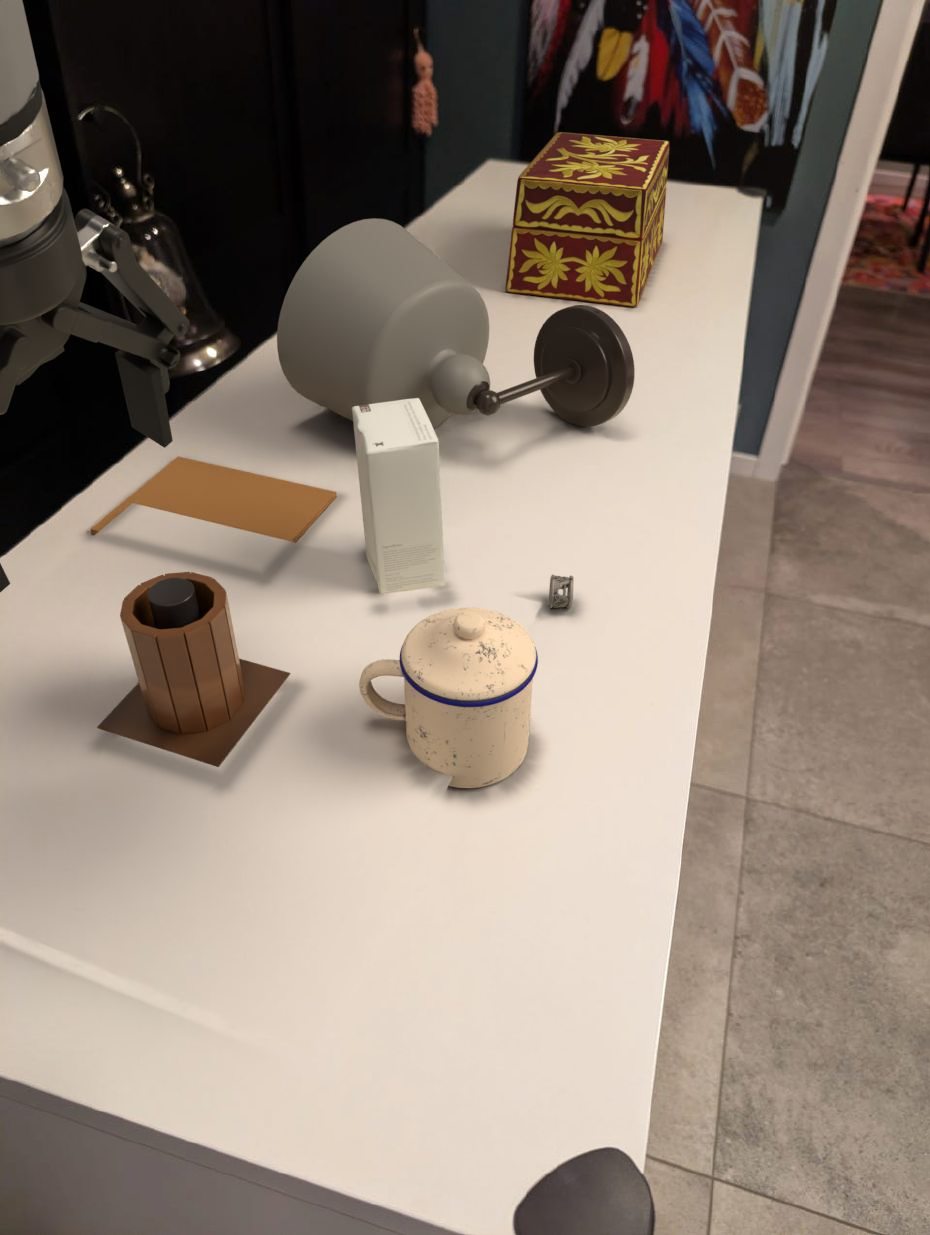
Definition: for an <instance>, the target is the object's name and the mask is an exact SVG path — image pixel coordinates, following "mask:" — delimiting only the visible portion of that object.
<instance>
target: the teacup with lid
mask: <svg viewBox="0 0 930 1235" xmlns="http://www.w3.org/2000/svg"><path fill="white" fill-rule="evenodd" d="M538 664H539V656H538V651H537V648H536V644H535V643H534V641H533V638H532V636H531V635H530V634H529V632H528V631H527V629H525V628H524V627H523V626H522V625H521V624H520V623H519V622H517V621H516V620H515V619H513V618H512V617H510V616H507V615H505V614H503V613H501V612H498V611H495V610H492V609H487V608H481V607H469V606H467V607H455V608H450V609H444V610H441V611H438V612H435V613H433V614H430V615H429V616H427V617H425V618H423V619H422V620H420V621H419V622H418V623H417V624H415V625H414V626H413V627H412V629H411V630H410V631H409V632H408V633H407V635H406V636H405V639H404V640H403V643H402V645H401V647H400V650H399V659H388V658H387V659H379V660H375V661H373V662H371V663H369V664H368V665H366V666H365V667H364V668H363V670H362V671H361V674H360V677H359V683H358V684H359V685H358V687H359V691H360V694H361V697H362V699H363V701H364V702H365V703H366V705H368V707H369V708H370V709H371V710H373V711H374V712H375V713H376V714H378V715H380V716H383V717H385V718H388V719H392V720H397V721H405V730H406V739H407V744H408V746H409V748H410V749H411V751H412V753H413V754H414V756H415V757H416V758H417V759H418V760H419V761H420V762H421V763H423V764H424V765H425V766H426V767H428V768H430V769H432V770H434V771H436V772H438V773H441V774H444V775H447V776H452V778H451V779H450V782H449V784H448V786H449V787H453V788H458V789H459V788H460V789H476V788H477V789H478V788H484V787H487V786H492V785H494V784H497V783H499V782H501V781H503V780H505V779H506V778H508V777H509V776H511V775H512V774H513V773H514V772H516V770H518V769H519V767H520V766H521V765H522V763H523V762H524V759H525V758H526V756H527V753H528V752H527V751H528V747H529V736H530V722H531V711H532V710H531V709H532V696H533V682H534V677H535V675H536V672H537V669H538ZM386 676H387V677H399V678H403V686H404V687H403V688H404V703H396V702H393V701H389V700H388V699H386V698H384V697H383V696H381V695H380V693H378V692H377V691H376V689H375V688H374V686H373V684H372V680H374V679H375V678H378V677H386Z"/></svg>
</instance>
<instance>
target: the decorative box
mask: <svg viewBox="0 0 930 1235" xmlns="http://www.w3.org/2000/svg"><path fill="white" fill-rule="evenodd" d="M669 159H670V141H669V140H661V139H660V140H659V139H647V138H637V137H623V136H613V135H600V134H598V135H597V134H589V133H588V134H585V133H574V132H562V131H561V132H556V133H555V134H554V135H553V136H552V137H551V138H550V139H549V141H547V143H546V144H545V145H544V146H543V148H542V149H541V150H540V151H539V152H538V153H537V154H536V156H535V157H534V158H533V159H532V160H531V162H530V163H528V165H527V166H526V167H525V168H524V169H523V170H522V171H521V173H520V175H519V176H518V178H517V180H516V190H515V197H514V198H515V200H514V208H513V209H514V210H513V216H512V228H511V236H510V243H509V244H510V245H509V251H508V252H509V254H508V262H507V270H506V271H507V272H506V280H505V292H507V293H512V294H513V293H514V294H521V295H530V296H538V297H547V298H555V299H563V300H570V301H572V300H573V301H581V302H589V303H596V304H606V305H614V306H621V307H623V306H624V307H633V308H634V307H635V308H636V307H638V305H639V302H640V300H641V298H642V295H643V292H644V290H645V288H646V284H647V282H648V280H649V277H650V274H651V272H652V270H653V267H654V264H655V262H656V259H657V257H658V254H659V251H660V249H661V246H662V243H663V238H664V227H665V226H664V225H665V214H666V212H665V211H666V199H667V185H668V184H667V183H668V172H669Z"/></svg>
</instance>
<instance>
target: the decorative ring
mask: <svg viewBox="0 0 930 1235" xmlns="http://www.w3.org/2000/svg"><path fill="white" fill-rule="evenodd" d="M548 590H549V591H548V607H549V608H550V609H552V608H555V609H556V608H567V610H571V609H572V607H573V600H574V599H573V598H574V576H573V575H569V576H560V575H555V574H551V576H550V578H549V589H548ZM559 590H562V594H560V593H559Z"/></svg>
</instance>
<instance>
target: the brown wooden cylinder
mask: <svg viewBox="0 0 930 1235" xmlns="http://www.w3.org/2000/svg"><path fill="white" fill-rule="evenodd" d="M168 578H183V579H186V580H188V581H190V582H191V583H192V584H193V586H194V589H195V593H196V598H197V603H198V607H199V612H200V616H201V619H200V620H198V621H195V622H193V623H191V624H189V625H186V626H184V627H182V628H172V629H161V630H160V629H156V627H155V623H154V619H153V615H152V611H151V607H150V603H149V600H148V591H149V589H150V588H151V587H152V586H153V585H154V584H156V583H157V582H159V581H161V580H164V579H168ZM119 618H120V621H121V625H122V628H123V631H124V635H125V638H126V643H127V646H128V649H129V652H130V655H131V656H130V657H131V659H132V662H133V667H134V670H135V673H136V676H137V681H138V683H139V684H140V687H141V691H142V694H143V698H144V701H145V705H146V708H147V712H148V714H149V715H150V717H151V718H152V719H153V721H154V722H155V723H156V724H157V726H159V727H160V728H163V729H166V730H169V731H172V732H175V733H179V734H180V733H182V734H185V733H195V732H204V731H206V729H207V730H208V731H209V730H211V729H213V728H215V727H217V726H219V725H221V724H223V723H225V722H227V721H229V719H231V718H232V717H233V716H234V714H235V713H236V712H237V711H238V709H239V708H240V707H241V706H242V704H243V702H244V682H243V677H242V671H241V666H240V661H239V659H240V656H239V652H238V646H237V641H236V636H235V631H234V625H233V620H232V613H231V608H230V604H229V598H228V594H227V591H226V589H225V588H224V587H223V586H222V585H221V584H220V582H218V581H217V580H216V579H215V578H213V577H212V576H209V575H204V574H201V573H197V572H193V571H192V572H190V571H182V572H168V573H164V574H160V575H158V576H155V577H152V578H150V579H148V580H146V581H143V582H141V583H140V584H137V585H136V586H135V587H134V588H133V589H132V590H131V591H130V592H129V593H128V594H127V595H126V596H125V597H123V600H122V603H121V608H120V614H119Z"/></svg>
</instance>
